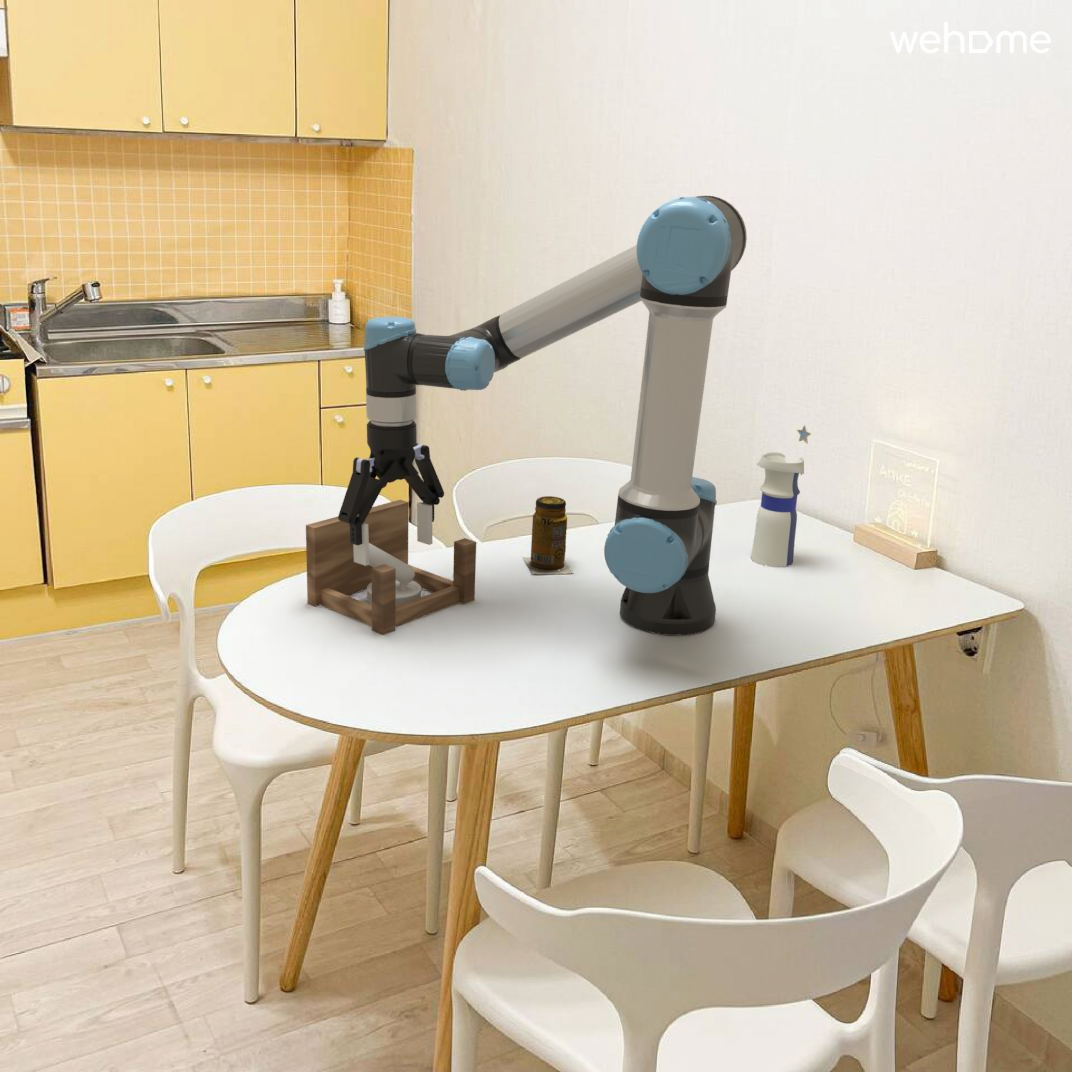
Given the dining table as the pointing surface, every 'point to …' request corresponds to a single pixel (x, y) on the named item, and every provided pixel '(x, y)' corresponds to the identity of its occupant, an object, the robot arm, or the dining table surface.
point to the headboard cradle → (380, 571)
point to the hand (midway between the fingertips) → (394, 552)
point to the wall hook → (404, 576)
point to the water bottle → (777, 509)
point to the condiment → (548, 537)
